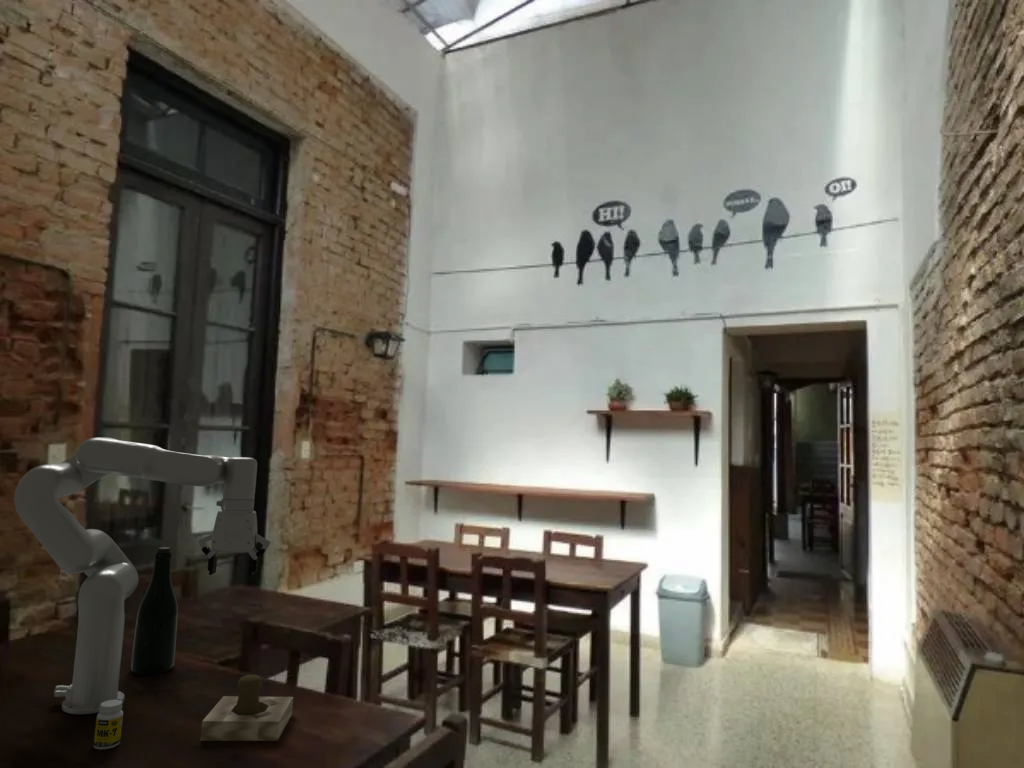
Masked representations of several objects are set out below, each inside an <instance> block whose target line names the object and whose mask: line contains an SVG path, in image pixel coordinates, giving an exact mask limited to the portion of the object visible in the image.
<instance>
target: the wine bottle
mask: <svg viewBox="0 0 1024 768" xmlns="http://www.w3.org/2000/svg"><path fill="white" fill-rule="evenodd" d="M172 558H173V553H172V550H171V547H170V546H161V547H158V548H157V551H156V552H155V553H154V558H153V559H154V562H153V563H154V564H153V570H152V576H151V580H150V583H149V585H148V588H147V589H146V592H145V595H144V596H143V598H142V600H141V602H140V604H139V607H138V612H137V616H136V621H135V630H134V639H133V646H132V655H131V665H130V668H131V672H133V673H134V674H138V675H145V676H146V675H156V674H161V673H164V672H168V671H169V670H171V669H172V668H173V667H174V663H175V657H176V656H175V654H176V646H177V645H176V643H177V632H178V631H177V630H178V629H177V627H178V611H179V610H178V609H179V608H178V602H177V598H176V595H175V594H176V593H175V591H174V588H173V585H172V577H171V574H172V573H171V570H172V569H171V568H172V567H171V566H172Z"/></svg>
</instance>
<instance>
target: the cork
mask: <svg viewBox="0 0 1024 768" xmlns="http://www.w3.org/2000/svg"><path fill="white" fill-rule="evenodd" d="M262 681H263V680H262V678H261V676H259V675H257V674H246V675H244V676H241V677H240V678H239V680H238V681H237V686H236V687H237V692H238V701H237V706H236V710H235V714H237V715H255V714H258V713H260V711H259V697H260V695H259V694H260V692H259V691H260V689H261V688H262V685H263V683H262Z"/></svg>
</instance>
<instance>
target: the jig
mask: <svg viewBox="0 0 1024 768" xmlns="http://www.w3.org/2000/svg"><path fill="white" fill-rule="evenodd" d="M238 696H239V695H238ZM238 696H237V695H236V696H235V695H234V696H233V695H232V696H228V695H227V696H226V695H225V696H224V695H223V696H222V697H221V699H220V700H219V701H218V702H217V703H216V705H215V706H213V708H212V709H211V710H210V711H209V713H208V714H207V715H206V716H205V717H204V718H203V720H202V721H201V732H200V740H199V741H201V742H204V741H205V742H206V741H210V742H211V741H212V742H217V741H220V742H222V741H223V742H225V741H226V742H229V741H230V742H231V741H233V742H238V741H241V742H242V741H243V742H244V741H247V742H250V741H253V742H257V741H260V742H265V741H266V742H268V741H269V742H274V741H275V742H277V741H278V740H279V739H280V738H281V735H282V734H283V731H284V730H285V728H286V726H287V724H288V722H289V721H290V718H291V717H292V716H293V707H294V706H293V704H294V697H293V696H259V711H260V713H258V714H255V715H237V714H235V710H236V706H237V701H238Z"/></svg>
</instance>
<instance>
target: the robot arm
mask: <svg viewBox="0 0 1024 768" xmlns="http://www.w3.org/2000/svg"><path fill="white" fill-rule="evenodd" d="M257 461H258V460H257V459H255V458H254V457H245V456H244V457H243V456H232V457H228V456H220V455H217V454H208V455H201V454H192V453H185V452H177V451H173V450H168V449H164V448H162V447H160V446H159V445H155V444H149V443H141V442H134V441H127V440H120V439H116V438H114V437H113V438H112V437H106V436H105V437H101V436H100V437H99V436H98V437H91V438H87V439H86V440H84V441H82V442H81V443H80V445H79V446H78V447H77V450H76V453H75V455H73V456H70V457H69V458H67V459H66V460H63V461H61V462H60V463H57V462H55V463H46V464H40V465H38V466H35V467H33V468H31V469H30V470H29V471H27V472H26V473H25V474H24V475H23V477H21V479H20V480H19V482H18V483H17V485H16V488H15V492H14V496H13V497H14V498H13V499H14V500H13V501H14V507H15V511H16V512H17V514H18V516H19V518H20V519H21V521H22V522H23V523H24V525H25V526H26V527H27V528H28V529H29V530H30V532H31V533H32V534H33V535H34V536H35V538H36V539H37V540H38V541H39V543H40V544H41V546H42V547H43V548H44V550H45V551H46V552H47V553H48V554H49V556H50V557H51V558H52V560H53V562H55V564H56V565H57V567H59V568H60V569H61V571H63V572H65V573H67V574H70V575H71V574H75V575H77V574H82V573H84V574H85V575H86V576H87V577H86V578H85V580H84V581H83V583H82V584H81V586H80V589H79V591H78V597H77V606H78V607H77V609H78V625H77V633H76V644H75V653H74V654H75V656H74V663H73V673H72V680H71V681H72V683H71V684H70V685H65V684H61V685H59V684H58V685H56V686H55V688H54V690H53V691H54V694H53V696H54V697H55V698H64V699H65V700H63V702H62V703H61V711H63V712H65V713H66V714H70V715H92V714H99V713H100V704H101V703H103V702H105V701H108V700H121V701H122V704H124V702H125V697H126V696H125V694H124V692H122V691H120V690H119V684H120V682H119V680H120V671H121V662H122V656H123V655H122V652H123V644H124V643H123V642H124V631H125V600H126V599H128V598H129V597H130V596H131V595H132V594H133V593H134V592H135V590H136V589H137V588H138V584H139V579H140V578H139V573H138V571H137V569H136V567H135V566H134V564H133V563H132V562H131V561H130V559H129V558H128V556H126V554H125V552H123V550H121V548H120V547H119V546H118V544H117V543H116V542H115V541H114V540H113V539H112V537H110V535H108V534H107V533H106V532H104V531H102V530H100V529H95V528H88V529H87V528H86V529H85V528H84V526H83V525H82V524H81V523H80V522H79V521H78V520H77V518H76V517H75V515H74V514H72V512H71V511H70V510H69V509H67V508H66V506H64V505H63V504H62V503H61V502H60V500H59V499H60V498H65V497H69V496H72V495H74V494H76V493H78V492H80V491H82V490H83V489H85V488H87V487H88V486H90V485H91V484H93V483H95V482H97V481H98V480H101V479H102V478H104V477H105V476H106V475H114V476H115V475H116V476H122V477H129V478H130V477H131V478H137V479H142V480H149V481H158V482H164V483H169V484H176V485H185V486H193V487H202V488H204V487H208V486H213V485H217V484H223V494H222V495H223V496H222V498H221V499H220V500H216V503H215V505H216V507H220V509H221V510H218V511H217V514H216V517H215V521H214V525H213V530H212V533H211V534H209V535H207V536H205V537H203V538H200V539H199V540H198V544H199V546H200V548H201V551H202V553H203V554H204V555H205V556H206V558H207V570H206V571H208V575H210V576H211V575H213V574H215V573H217V562H218V557H217V556H216V555H218V553H242V554H243V553H244V554H245V553H248V554H249V556H250V557H251V559H250V560H249V567H248V576H250V577H252V576H254V575H255V574H256V573H257V572H258V568H259V558H260V557H262V556H263V555H264V554H265V553H266V552H267V551H268V549H269V547H270V545H271V544H272V542H271V541H270V540H268V539H266V537H264V536H262V535H260V534H258V518H257V511H255V510H254V507H255V495H256V487H257V486H256V485H257V475H258V474H257V471H258V462H257ZM210 541H211V542H210ZM208 542H210V543H211V544H210V547H209V546H208ZM258 543H260V544H261V545H262V546H261V548H260V549H259V550H257V548H256V547H257V546H258V545H257V544H258Z"/></svg>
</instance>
